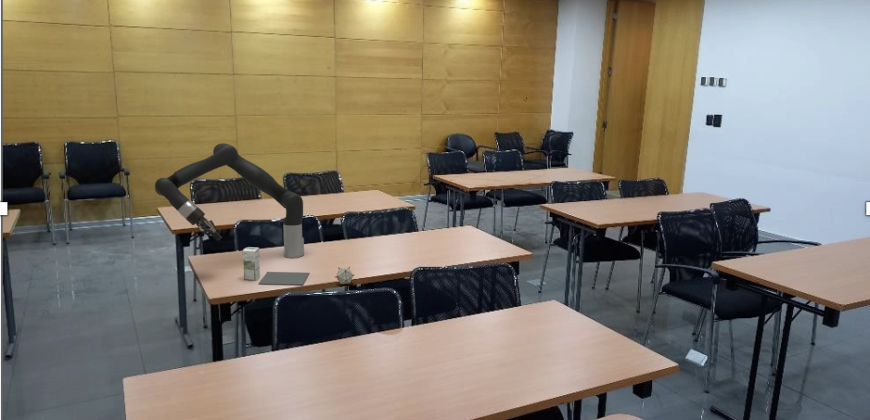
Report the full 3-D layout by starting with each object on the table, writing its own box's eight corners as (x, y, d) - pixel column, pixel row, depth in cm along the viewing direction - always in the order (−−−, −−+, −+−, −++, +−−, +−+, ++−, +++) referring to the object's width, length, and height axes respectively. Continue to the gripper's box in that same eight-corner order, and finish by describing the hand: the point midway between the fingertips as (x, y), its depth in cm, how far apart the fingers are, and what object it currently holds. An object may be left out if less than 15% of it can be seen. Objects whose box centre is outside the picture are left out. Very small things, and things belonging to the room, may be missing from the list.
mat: (258, 284, 281) (258, 283, 281) (267, 272, 297) (267, 271, 297) (302, 285, 282) (302, 284, 282) (309, 273, 297) (309, 272, 297)
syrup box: (260, 276, 292) (259, 247, 288) (255, 281, 286) (254, 250, 283) (248, 276, 292) (247, 246, 289) (243, 280, 286) (242, 250, 283)
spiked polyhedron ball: (347, 293, 284) (349, 281, 277) (330, 285, 285) (332, 273, 278) (356, 279, 290) (358, 266, 283) (339, 271, 291) (342, 258, 284)
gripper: (191, 210, 274) (220, 237, 278) (202, 203, 287) (230, 229, 290) (180, 221, 276) (209, 248, 279) (191, 214, 289) (219, 240, 292)
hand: (220, 239), depth 285 cm, fingers closed
